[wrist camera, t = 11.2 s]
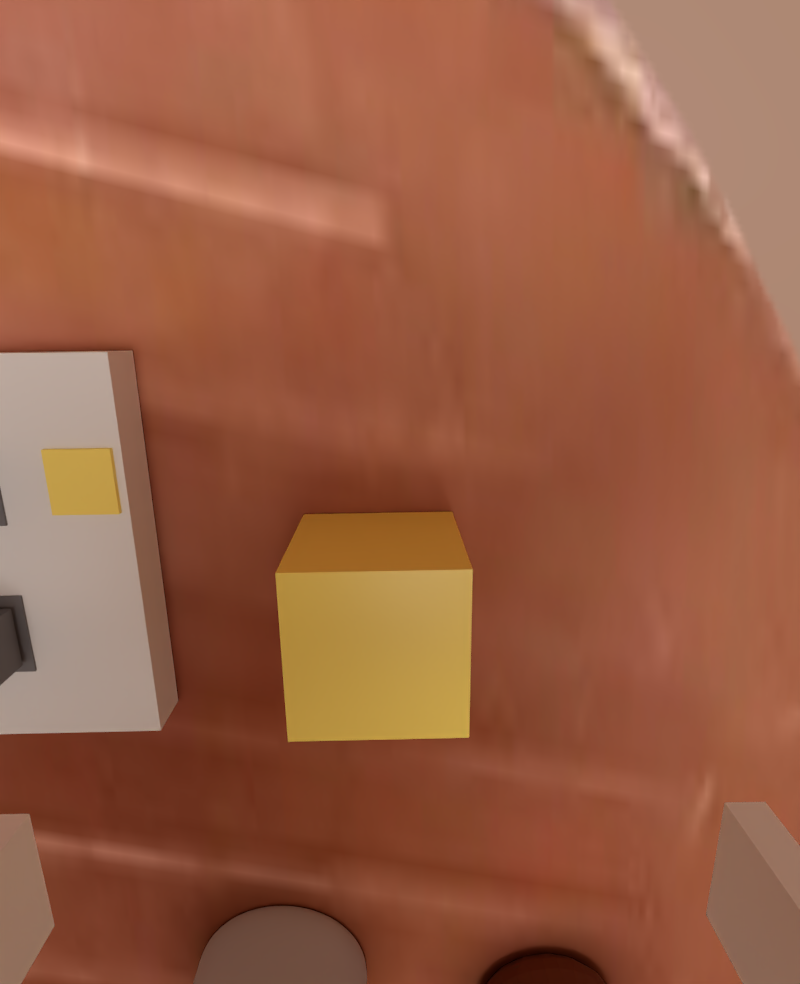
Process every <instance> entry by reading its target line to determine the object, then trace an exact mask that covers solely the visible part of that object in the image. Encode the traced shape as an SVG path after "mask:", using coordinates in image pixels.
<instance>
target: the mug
mask: <svg viewBox="0 0 800 984" xmlns="http://www.w3.org/2000/svg"><path fill="white" fill-rule="evenodd" d="M193 984H367V969H366V962H365V958H364V955H363V952H362V950H361V948H360V946H359V944H358V942H357V941H356V939H355V938H354V937H353V935H352V934H351V933H350V932H349V931H348V930H347V929H346V928H345V927H344V926H342V925H341V924H340V923H339V922H337V921H335V920H334V919H332V918H331V917H329V916H326V915H324V914H322V913H320V912H317V911H314V910H311V909H306V908H302V907H295V906H268V907H262V908H257V909H254V910H251V911H247V912H245V913H243V914H240V915H238V916H236V917H235V918H233V919H231V920H230V921H228V922H227V923H226V924H224V925H223V926H222V927H220V928H219V930H218V931H217V932H216V933H215V934H214V935H213V936H212V938H211V939H210V940H209V942H208V944H207V945H206V947H205V949H204V951H203V954H202V956H201V959H200V962H199V965H198V969H197V972H196V975H195V979H194V982H193Z"/></svg>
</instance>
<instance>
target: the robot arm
mask: <svg viewBox="0 0 800 984" xmlns="http://www.w3.org/2000/svg"><path fill="white" fill-rule="evenodd" d="M706 916H707V917H708V919H709V921H710V923H711V925H712V927H713V929H714V931H715V932H716V934H717V936H718V938H719V940H720V942H721V944H722V946H723V947H724V949H725V951H726V953H727V955H728V957H729V959H730V961H731V962H732V964H733V966H734V968H735V970H736V972H737V974H738V976H739V977H740V979H741V981H742V983H743V984H800V846H799V844H798V843H797V842H796V841H795V839H794V838H793V837H792V835H791V834H790V833H789V832H788V830H787V829H786V828H785V827H784V825H783V824H782V823H781V821H780V820H779V819H778V818H777V816H776V815H775V814H774V813H773V811H772V810H771V809H770V807H769V806H768V805H767V804H766V802H728V803H725V804H724V810H723V816H722V822H721V828H720V834H719V840H718V846H717V852H716V858H715V863H714V869H713V875H712V881H711V887H710V893H709V899H708V905H707V911H706ZM54 926H55V924H54V920H53V915H52V911H51V907H50V902H49V898H48V893H47V889H46V885H45V880H44V876H43V871H42V867H41V863H40V858H39V854H38V849H37V845H36V840H35V836H34V832H33V827H32V823H31V818H30V814H0V984H21V983H22V981H23V980H24V978H25V976H26V975H27V973H28V971H29V969H30V968H31V966H32V964H33V962H34V961H35V959H36V957H37V955H38V954H39V952H40V950H41V948H42V947H43V945H44V943H45V941H46V940H47V938H48V936H49V935H50V933H51V931H52V929H53V928H54Z"/></svg>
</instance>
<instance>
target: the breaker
mask: <svg viewBox="0 0 800 984" xmlns="http://www.w3.org/2000/svg"><path fill="white" fill-rule="evenodd" d="M21 666H23V664H22V659H21V655H20V650H19V645H18V640H17V635H16V631H15V626H14V621H13V616H12V611H11V609H0V685H1V684H3V683H4V682H5V681H6V680H7V679H8V678H9V677H10V676H11V675H13V674H14V673H15V672H16V671H17V670H18V669H19V668H20V667H21Z"/></svg>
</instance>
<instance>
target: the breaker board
mask: <svg viewBox="0 0 800 984" xmlns="http://www.w3.org/2000/svg"><path fill="white" fill-rule="evenodd" d="M0 609H11V611H12V616H13V621H14V626H15V631H16V635H17V640H18V645H19V650H20V655H21V659H22V664H23V666H21V667H20V668H19V669H18V670H17V671H16V672H15V673H14V674H13V675H11V676H10V677H9V678H8V679H7V680H6V681H5V682H4V683H3V684H1V685H0V734H31V733H77V732H122V731H161V730H162V728H163V726H164V725H165V723H166V721H167V719H168V718H169V716H170V714H171V712H172V711H173V709H174V707H175V706H176V704H177V702H178V694H177V686H176V679H175V671H174V663H173V656H172V648H171V640H170V633H169V625H168V617H167V610H166V602H165V594H164V587H163V579H162V571H161V564H160V556H159V549H158V541H157V533H156V526H155V518H154V510H153V503H152V495H151V487H150V480H149V472H148V464H147V457H146V449H145V441H144V434H143V426H142V418H141V411H140V403H139V395H138V388H137V380H136V372H135V365H134V357H133V350H130V351H57V352H0Z"/></svg>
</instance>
